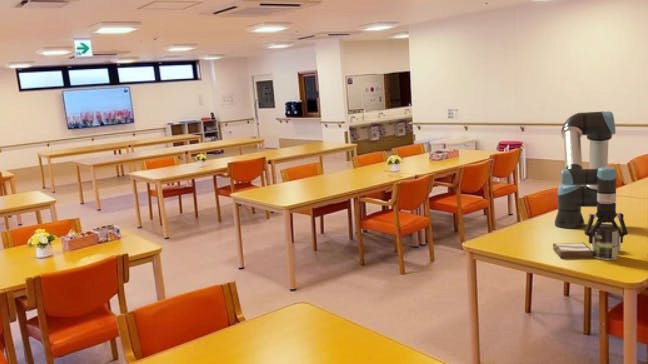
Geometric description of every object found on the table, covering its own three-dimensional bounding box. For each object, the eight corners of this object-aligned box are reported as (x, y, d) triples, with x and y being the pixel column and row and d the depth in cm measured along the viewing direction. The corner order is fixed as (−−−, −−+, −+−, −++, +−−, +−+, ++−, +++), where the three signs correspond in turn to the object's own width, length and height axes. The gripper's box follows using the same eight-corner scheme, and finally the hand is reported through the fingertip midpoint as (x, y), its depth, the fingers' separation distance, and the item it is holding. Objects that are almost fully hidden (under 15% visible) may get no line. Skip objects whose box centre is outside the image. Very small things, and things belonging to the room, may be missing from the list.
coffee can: (601, 261, 243) (601, 230, 241) (588, 254, 253) (588, 224, 251) (623, 259, 244) (623, 228, 242) (609, 252, 254) (610, 222, 252)
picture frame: (553, 249, 265) (553, 243, 264) (583, 248, 262) (583, 242, 262) (560, 258, 251) (560, 251, 250) (593, 257, 249) (593, 250, 248)
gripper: (581, 204, 243) (581, 252, 246) (637, 203, 239) (635, 252, 242) (576, 201, 250) (576, 248, 254) (630, 199, 246) (629, 247, 250)
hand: (605, 250), depth 248 cm, fingers open, 10 cm apart
